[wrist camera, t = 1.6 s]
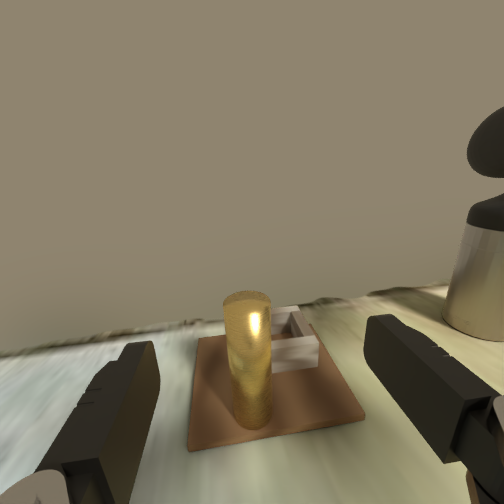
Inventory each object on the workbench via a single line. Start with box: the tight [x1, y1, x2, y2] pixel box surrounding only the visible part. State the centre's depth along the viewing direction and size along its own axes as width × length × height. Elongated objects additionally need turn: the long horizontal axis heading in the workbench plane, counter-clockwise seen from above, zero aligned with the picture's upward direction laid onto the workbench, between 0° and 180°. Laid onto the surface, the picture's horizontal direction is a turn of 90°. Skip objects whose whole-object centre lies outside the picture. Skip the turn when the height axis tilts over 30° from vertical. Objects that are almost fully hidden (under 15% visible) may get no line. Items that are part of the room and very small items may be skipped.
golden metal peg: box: [223, 291, 273, 430], centre depth 24 cm, size 4×4×14 cm
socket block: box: [187, 305, 365, 452], centre depth 32 cm, size 19×16×5 cm
